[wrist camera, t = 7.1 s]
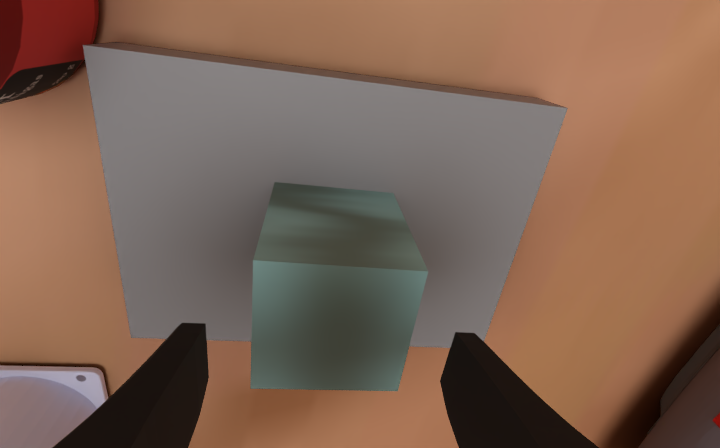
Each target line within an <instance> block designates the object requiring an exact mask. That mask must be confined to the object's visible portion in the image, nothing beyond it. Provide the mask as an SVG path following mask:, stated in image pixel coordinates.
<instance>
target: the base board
mask: <svg viewBox="0 0 720 448" xmlns="http://www.w3.org/2000/svg"><path fill="white" fill-rule="evenodd" d="M83 50H84V56H85V62H86V68H87V74H88V80H89V86H90V92H91V98H92V104H93V110H94V116H95V122H96V128H97V134H98V141H99V147H100V153H101V159H102V165H103V171H104V177H105V183H106V189H107V195H108V201H109V207H110V213H111V219H112V225H113V231H114V237H115V243H116V249H117V255H118V261H119V267H120V274H121V280H122V286H123V292H124V298H125V304H126V310H127V316H128V322H129V328H130V334H131V338H158V339H167V338H168V337H169V336H170V335H171V333H172V332H173V331H174V330H175V329H176V328H177V327H178V326H179V325H180V324H181V323H206V340H221V341H251V339H252V289H253V259H254V255H255V251H256V248H257V244H258V241H259V237H260V233H261V230H262V226H263V223H264V219H265V215H266V212H267V208H268V204H269V201H270V197H271V194H272V190H273V186H274V183H275V182H280V183H291V184H302V185H312V186H323V187H334V188H344V189H355V190H365V191H376V192H387V193H394V196H395V198H396V200H397V202H398V205H399V207H400V209H401V211H402V214H403V216H404V218H405V220H406V223H407V225H408V227H409V229H410V232H411V234H412V236H413V238H414V241H415V243H416V245H417V247H418V250H419V252H420V254H421V256H422V259H423V261H424V263H425V265H426V267H427V270H428V275H427V279H426V283H425V286H424V290H423V294H422V298H421V302H420V306H419V310H418V314H417V318H416V322H415V325H414V329H413V333H412V337H411V341H410V345H409V346H413V347H445V348H451V345H452V341H453V338H454V335H455V332H465V333H475V334H476V335H477V336H478V337H479V338H480V339H481V340H482V341H483V342H484V339H485V337H486V334H487V331H488V328H489V325H490V323H491V320H492V317H493V314H494V312H495V309H496V306H497V303H498V300H499V298H500V295H501V292H502V289H503V287H504V284H505V281H506V278H507V275H508V273H509V270H510V267H511V264H512V262H513V259H514V256H515V253H516V250H517V248H518V245H519V242H520V239H521V236H522V234H523V231H524V228H525V225H526V223H527V220H528V217H529V214H530V211H531V209H532V206H533V203H534V200H535V198H536V195H537V192H538V189H539V186H540V184H541V181H542V178H543V175H544V173H545V170H546V167H547V164H548V161H549V159H550V156H551V153H552V150H553V148H554V145H555V142H556V139H557V136H558V134H559V131H560V128H561V125H562V122H563V120H564V117H565V114H566V111H567V109H568V108H566V107H563V106H560V105H557V104H554V103H551V102H548V101H545V100H542V99H539V98H534V97H526V96H519V95H511V94H504V93H496V92H489V91H481V90H474V89H466V88H459V87H451V86H443V85H436V84H428V83H421V82H413V81H406V80H398V79H391V78H383V77H376V76H368V75H361V74H353V73H346V72H338V71H330V70H323V69H315V68H308V67H300V66H293V65H285V64H278V63H270V62H263V61H255V60H248V59H240V58H233V57H225V56H217V55H210V54H202V53H195V52H187V51H180V50H172V49H165V48H157V47H150V46H142V45H135V44H127V43H119V42H112V43H101V44H89V45H83Z"/></svg>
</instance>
